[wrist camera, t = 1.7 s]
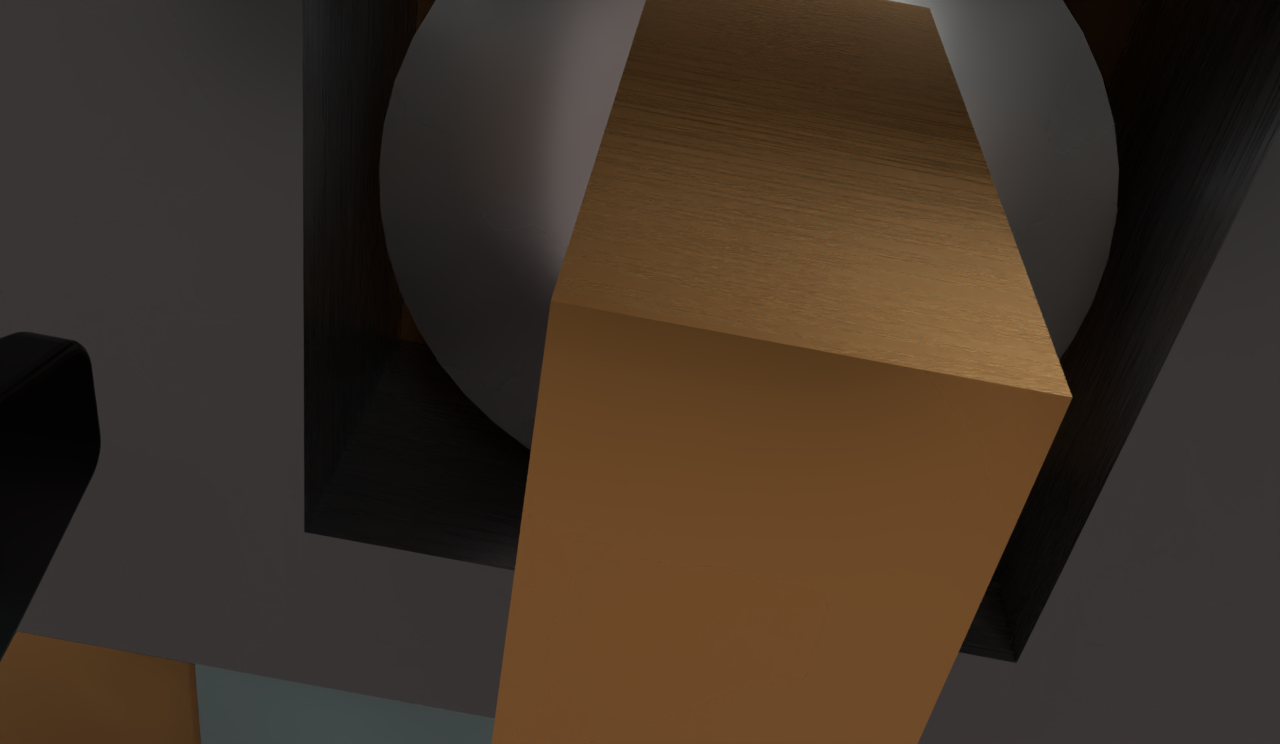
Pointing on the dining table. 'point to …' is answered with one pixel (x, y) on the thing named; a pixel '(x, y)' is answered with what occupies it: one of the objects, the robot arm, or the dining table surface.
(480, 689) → the housing
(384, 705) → the mat
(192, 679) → the dining table surface
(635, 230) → the grey round brown-barred piece
